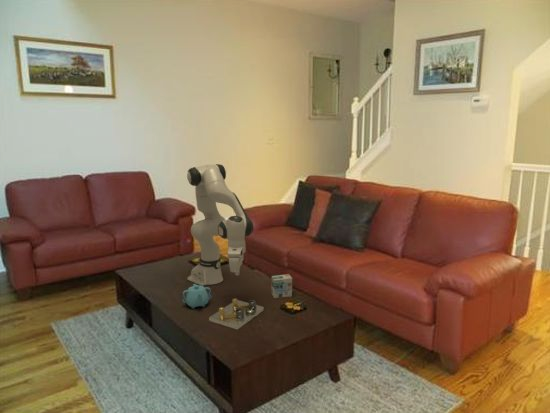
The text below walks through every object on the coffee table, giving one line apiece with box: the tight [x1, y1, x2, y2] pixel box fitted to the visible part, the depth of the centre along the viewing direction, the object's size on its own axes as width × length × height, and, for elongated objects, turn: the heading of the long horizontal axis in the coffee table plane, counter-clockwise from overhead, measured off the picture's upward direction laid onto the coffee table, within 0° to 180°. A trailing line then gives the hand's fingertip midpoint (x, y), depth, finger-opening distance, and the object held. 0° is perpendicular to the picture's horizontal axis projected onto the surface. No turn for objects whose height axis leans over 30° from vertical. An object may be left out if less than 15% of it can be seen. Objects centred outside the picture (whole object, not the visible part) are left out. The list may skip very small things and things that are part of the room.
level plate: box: [208, 299, 265, 331], centre depth 210 cm, size 18×23×4 cm
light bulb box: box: [270, 273, 293, 299], centre depth 234 cm, size 11×7×11 cm, turn 105°
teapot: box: [182, 283, 212, 310], centre depth 222 cm, size 13×14×11 cm
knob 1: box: [218, 306, 244, 320], centre depth 204 cm, size 12×4×6 cm, turn 108°
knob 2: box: [231, 297, 257, 311], centre depth 213 cm, size 12×4×6 cm, turn 106°
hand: (237, 274), depth 213 cm, fingers closed
